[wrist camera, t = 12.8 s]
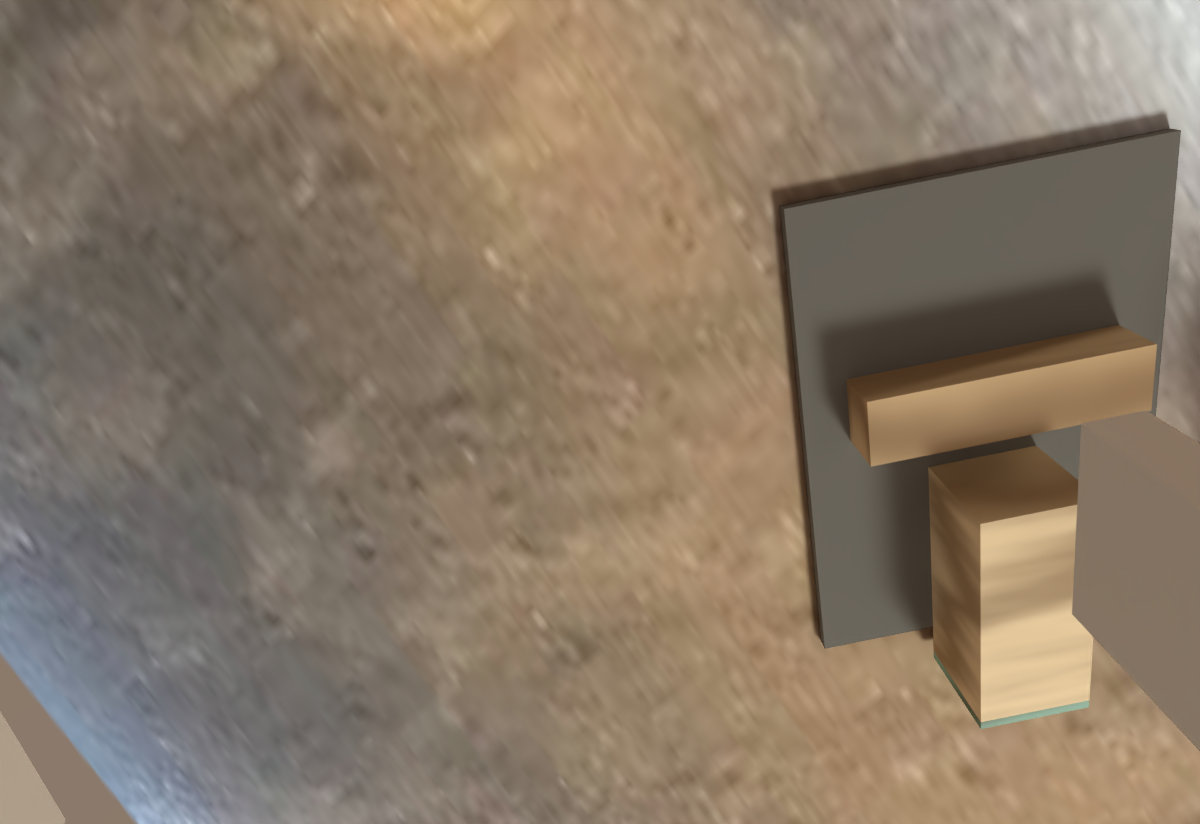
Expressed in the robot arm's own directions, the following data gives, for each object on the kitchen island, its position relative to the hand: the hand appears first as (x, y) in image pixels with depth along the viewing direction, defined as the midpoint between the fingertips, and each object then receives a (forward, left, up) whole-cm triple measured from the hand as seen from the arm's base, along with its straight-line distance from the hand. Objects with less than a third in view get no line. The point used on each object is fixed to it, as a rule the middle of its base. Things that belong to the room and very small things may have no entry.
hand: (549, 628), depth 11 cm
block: (+15, +18, -24) cm, 33 cm away
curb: (+11, +18, -26) cm, 34 cm away
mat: (+13, +18, -27) cm, 35 cm away
